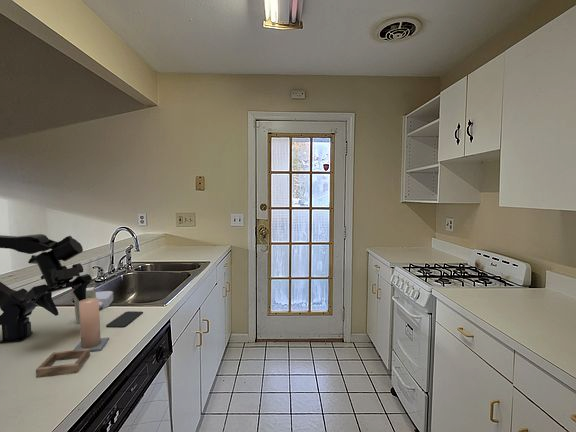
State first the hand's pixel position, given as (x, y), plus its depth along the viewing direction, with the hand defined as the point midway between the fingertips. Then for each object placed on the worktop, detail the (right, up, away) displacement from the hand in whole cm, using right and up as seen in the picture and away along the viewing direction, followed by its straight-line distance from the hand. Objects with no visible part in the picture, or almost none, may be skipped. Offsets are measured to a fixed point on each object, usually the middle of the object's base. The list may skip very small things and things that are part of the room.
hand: (71, 310), depth 103 cm
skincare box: (-6, -9, +17) cm, 20 cm away
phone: (+8, -10, +18) cm, 22 cm away
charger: (-11, -9, +32) cm, 34 cm away
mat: (+8, -10, -3) cm, 14 cm away
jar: (+8, -10, -3) cm, 13 cm away
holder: (+8, -11, -14) cm, 20 cm away
